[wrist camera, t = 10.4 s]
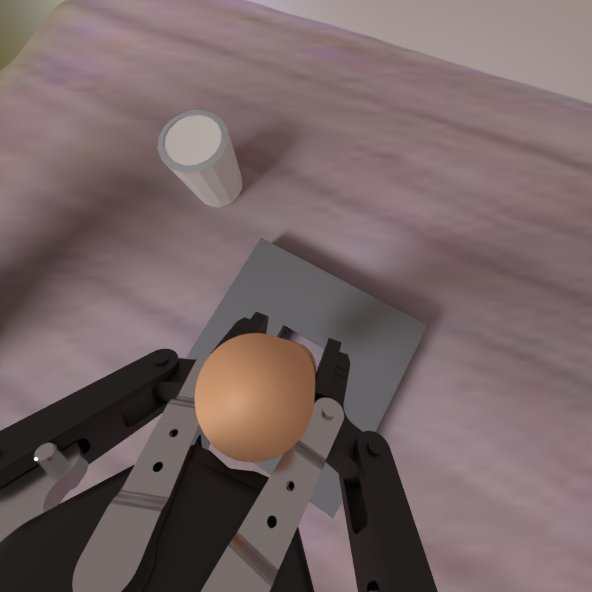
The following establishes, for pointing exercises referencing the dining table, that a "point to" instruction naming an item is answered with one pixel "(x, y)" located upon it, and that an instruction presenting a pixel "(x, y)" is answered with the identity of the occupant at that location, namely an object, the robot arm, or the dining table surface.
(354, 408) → the peg board
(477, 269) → the dining table surface
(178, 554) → the robot arm
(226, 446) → the peg
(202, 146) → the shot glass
